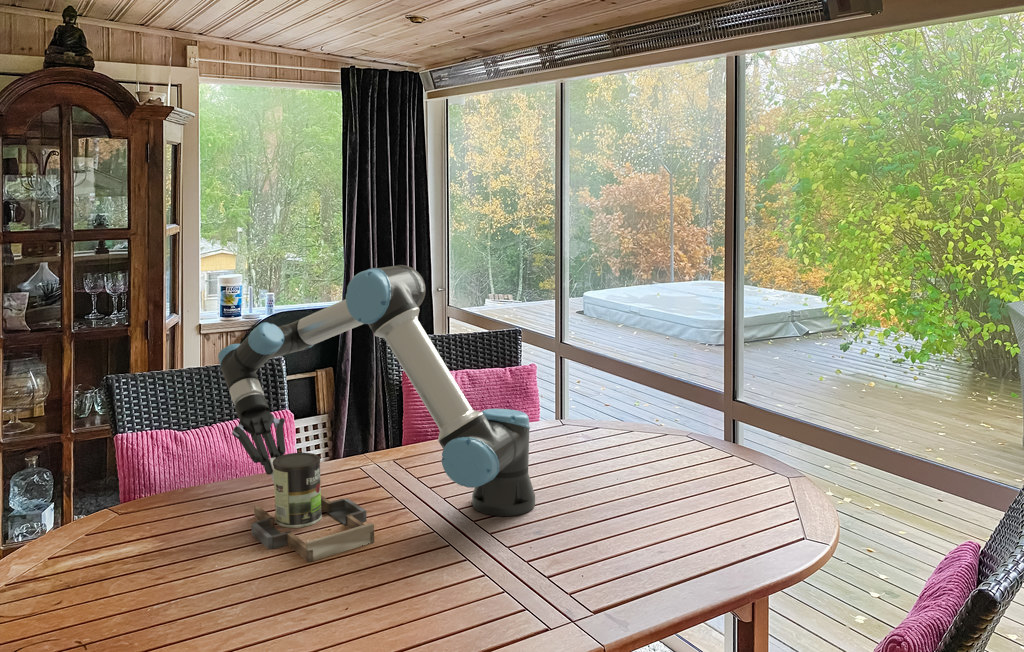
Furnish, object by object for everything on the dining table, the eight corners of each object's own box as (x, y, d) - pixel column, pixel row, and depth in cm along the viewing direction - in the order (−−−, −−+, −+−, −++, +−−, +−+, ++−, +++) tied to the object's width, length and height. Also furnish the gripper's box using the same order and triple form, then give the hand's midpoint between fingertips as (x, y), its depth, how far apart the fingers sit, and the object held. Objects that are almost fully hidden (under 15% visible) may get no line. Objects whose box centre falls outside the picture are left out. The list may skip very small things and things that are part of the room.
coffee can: (329, 511, 181) (327, 453, 178) (309, 530, 171) (307, 469, 169) (288, 507, 183) (286, 450, 180) (266, 525, 173) (263, 465, 171)
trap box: (237, 521, 175) (236, 504, 174) (330, 497, 189) (330, 481, 189) (289, 568, 154) (289, 549, 153) (390, 536, 168) (390, 519, 168)
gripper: (270, 404, 200) (301, 485, 190) (219, 413, 192) (248, 498, 182) (278, 388, 195) (310, 471, 185) (226, 397, 187) (256, 483, 177)
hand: (279, 484), depth 184 cm, fingers closed
